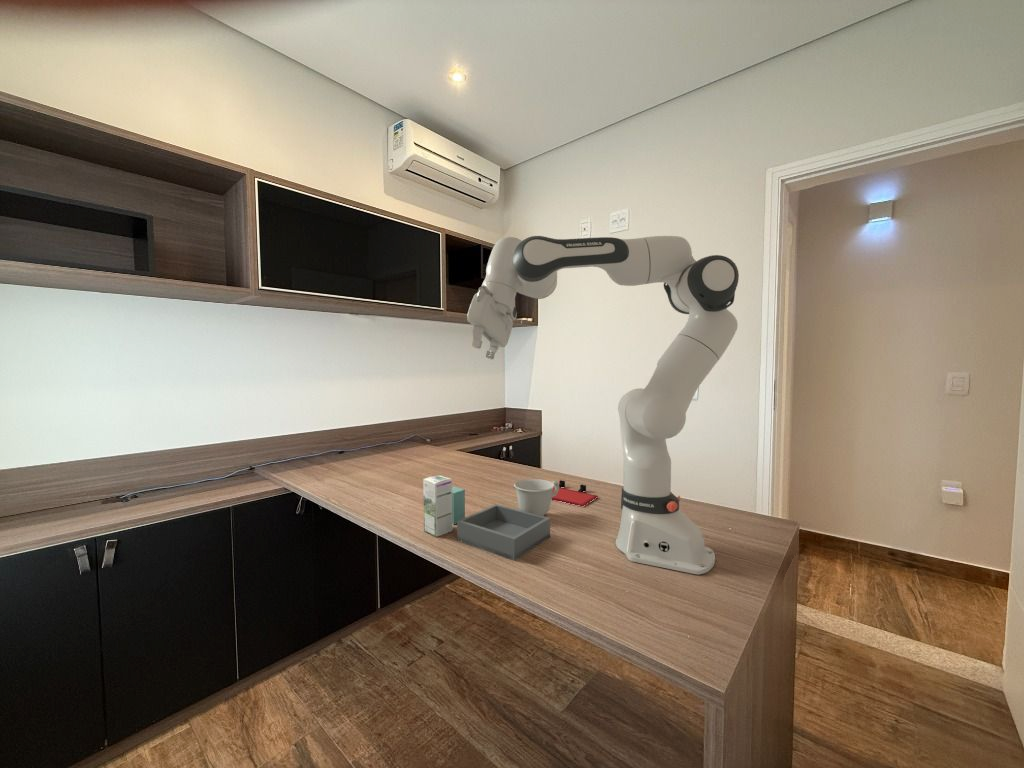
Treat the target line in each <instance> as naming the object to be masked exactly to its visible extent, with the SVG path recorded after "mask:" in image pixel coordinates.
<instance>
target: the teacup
mask: <svg viewBox="0 0 1024 768" xmlns="http://www.w3.org/2000/svg"><path fill="white" fill-rule="evenodd" d="M513 486H514V488H515V490H516V499H517V505H518V510H521V511H525V512H529V513H532V514H536V515H540V516H544V517H545V515H547V513H548V512H549V511H550V508H551V504H552V500H551V499H552V498H553V497H554V496H556V495H557V493H558V491H559V482H558V481H557V480H556V481H555V480H553V481H549V480H546V479H542V478H541V479H539V478H527V479H526V478H525V479H520V480H518V481H516V482H514V484H513ZM554 487H555V490H554V492H553V493H552V490H553V488H554Z"/></svg>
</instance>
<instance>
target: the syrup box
mask: <svg viewBox="0 0 1024 768" xmlns="http://www.w3.org/2000/svg"><path fill="white" fill-rule="evenodd" d="M422 483H423V487H422V488H423V489H422V490H423V531H424V532H425V533H427V534H429V535H431V536H433V537H435V538H436V537H437V538H438V537H441V536H444V535H446V534H449V533H451V532H453V525H452V487H453V479H452V478H449V477H446V476H443V475H439V474H438V475H432V476H428V477H426V478H422ZM448 532H449V533H448ZM443 534H444V535H443Z"/></svg>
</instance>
